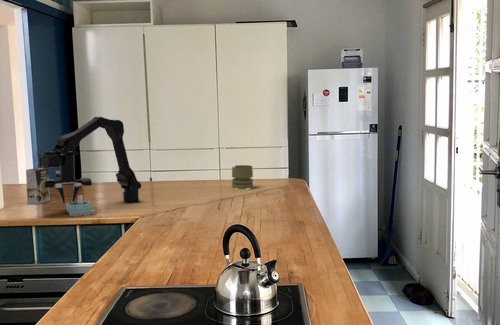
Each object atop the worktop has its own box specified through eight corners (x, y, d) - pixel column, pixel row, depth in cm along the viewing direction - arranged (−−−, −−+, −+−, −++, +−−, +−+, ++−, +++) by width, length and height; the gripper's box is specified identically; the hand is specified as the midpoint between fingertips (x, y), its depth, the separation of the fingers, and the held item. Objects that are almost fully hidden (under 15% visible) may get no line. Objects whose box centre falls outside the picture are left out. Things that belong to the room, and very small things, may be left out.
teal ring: (89, 205, 230) (89, 200, 230) (92, 209, 221) (92, 204, 221) (65, 207, 226) (65, 202, 226) (68, 212, 217) (67, 206, 217)
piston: (254, 165, 288) (250, 167, 277) (254, 186, 289) (250, 190, 278) (234, 165, 290) (229, 167, 279) (235, 186, 291) (229, 189, 280)
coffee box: (39, 204, 242) (37, 169, 241) (27, 203, 244) (25, 169, 242) (50, 200, 251) (48, 167, 249) (38, 200, 252) (36, 167, 251)
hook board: (90, 208, 233) (89, 191, 232) (95, 214, 219) (94, 196, 218) (66, 210, 229) (65, 193, 228) (70, 216, 215) (69, 198, 214)
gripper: (87, 163, 231) (88, 198, 233) (42, 165, 223) (43, 201, 225) (91, 166, 221) (92, 202, 222) (44, 168, 213) (45, 205, 215)
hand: (68, 202), depth 221 cm, fingers open, 3 cm apart
